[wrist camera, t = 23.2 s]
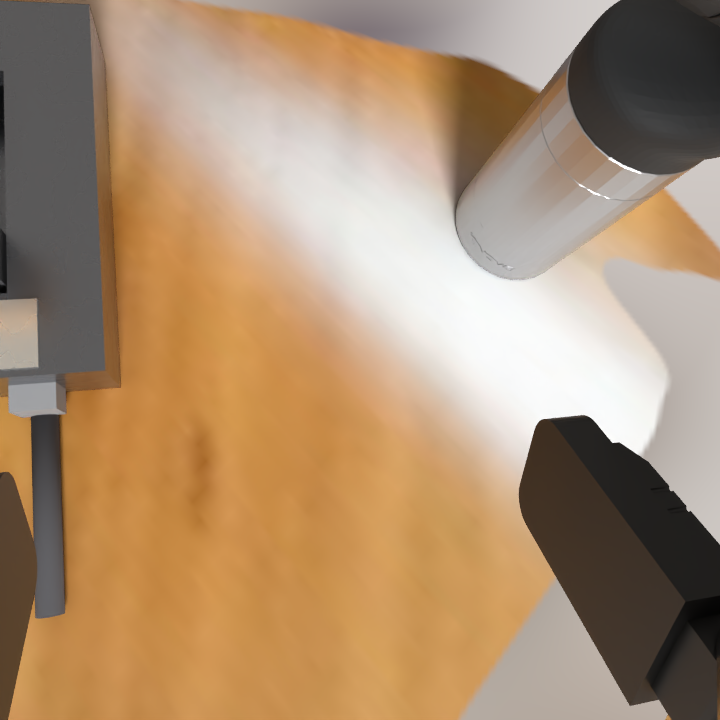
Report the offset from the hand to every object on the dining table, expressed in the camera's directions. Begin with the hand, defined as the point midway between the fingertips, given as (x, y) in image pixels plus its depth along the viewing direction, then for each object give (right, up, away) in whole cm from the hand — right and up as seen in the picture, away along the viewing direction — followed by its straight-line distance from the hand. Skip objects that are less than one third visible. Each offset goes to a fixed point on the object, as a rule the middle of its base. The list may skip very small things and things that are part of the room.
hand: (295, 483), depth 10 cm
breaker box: (-23, +11, +34) cm, 42 cm away
